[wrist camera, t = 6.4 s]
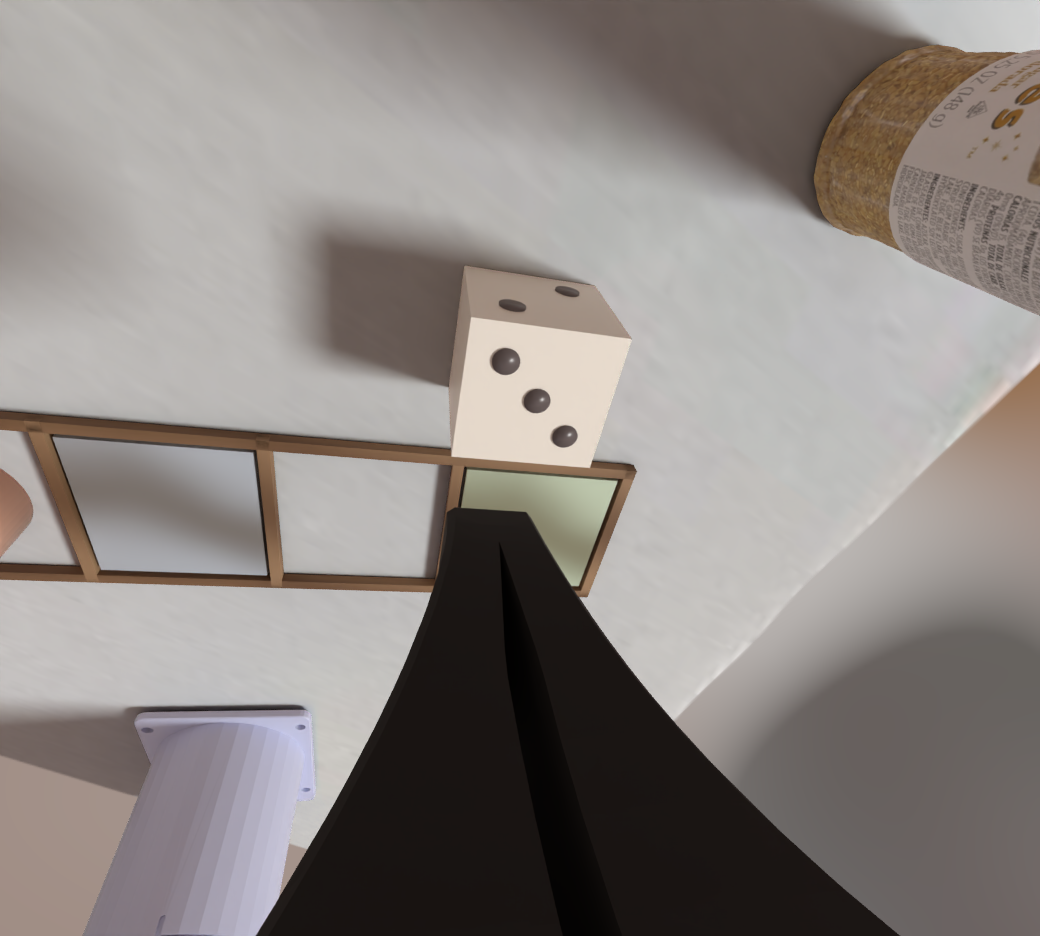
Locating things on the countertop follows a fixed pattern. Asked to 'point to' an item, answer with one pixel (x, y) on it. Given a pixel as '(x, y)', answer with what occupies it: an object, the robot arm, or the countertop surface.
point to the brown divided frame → (268, 503)
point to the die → (532, 369)
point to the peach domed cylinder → (12, 511)
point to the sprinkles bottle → (944, 166)
